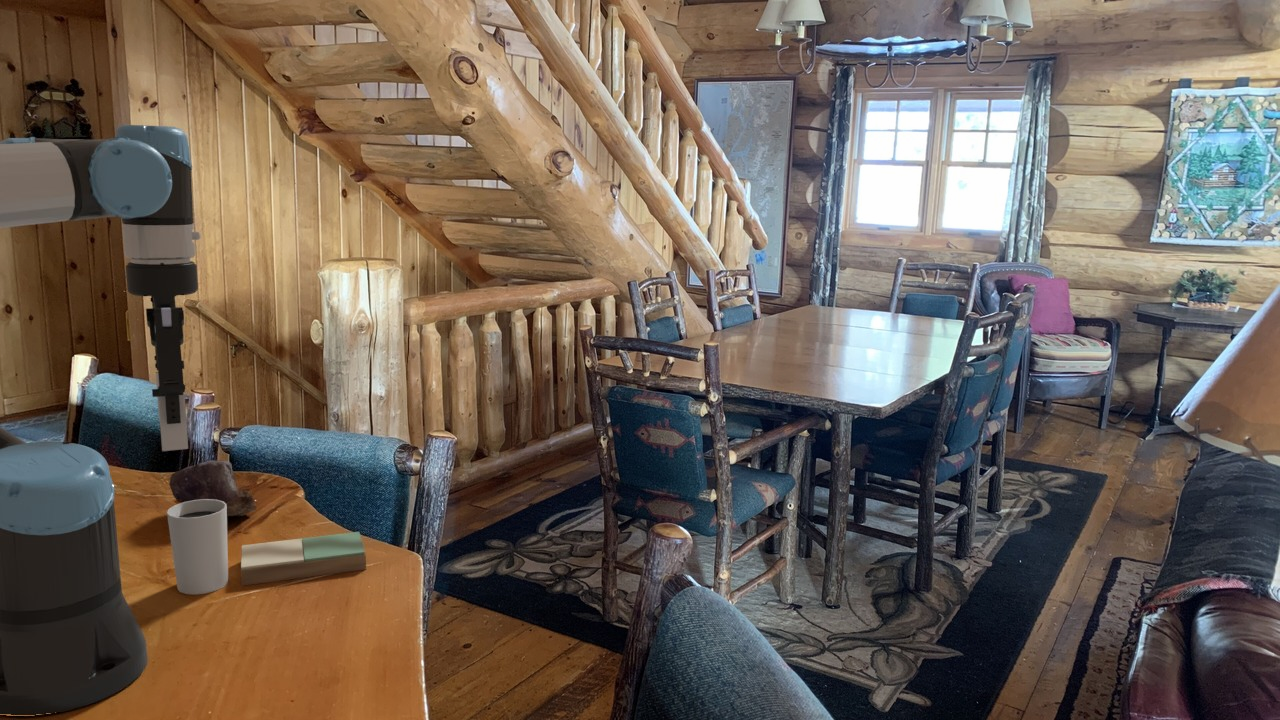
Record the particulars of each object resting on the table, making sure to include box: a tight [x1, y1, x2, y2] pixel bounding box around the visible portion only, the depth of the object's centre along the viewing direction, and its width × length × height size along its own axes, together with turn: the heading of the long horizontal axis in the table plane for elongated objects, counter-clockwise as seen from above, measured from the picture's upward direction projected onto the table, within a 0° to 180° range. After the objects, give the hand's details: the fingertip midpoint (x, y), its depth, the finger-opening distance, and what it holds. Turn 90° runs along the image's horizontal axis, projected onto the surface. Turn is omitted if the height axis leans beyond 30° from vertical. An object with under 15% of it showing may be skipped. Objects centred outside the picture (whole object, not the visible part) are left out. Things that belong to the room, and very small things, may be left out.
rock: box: [168, 459, 257, 518], centre depth 141 cm, size 12×9×10 cm
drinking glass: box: [166, 499, 229, 596], centre depth 118 cm, size 7×7×10 cm
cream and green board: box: [240, 531, 367, 586], centre depth 125 cm, size 8×15×2 cm, turn 112°
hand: (173, 434), depth 116 cm, fingers open, 13 cm apart
